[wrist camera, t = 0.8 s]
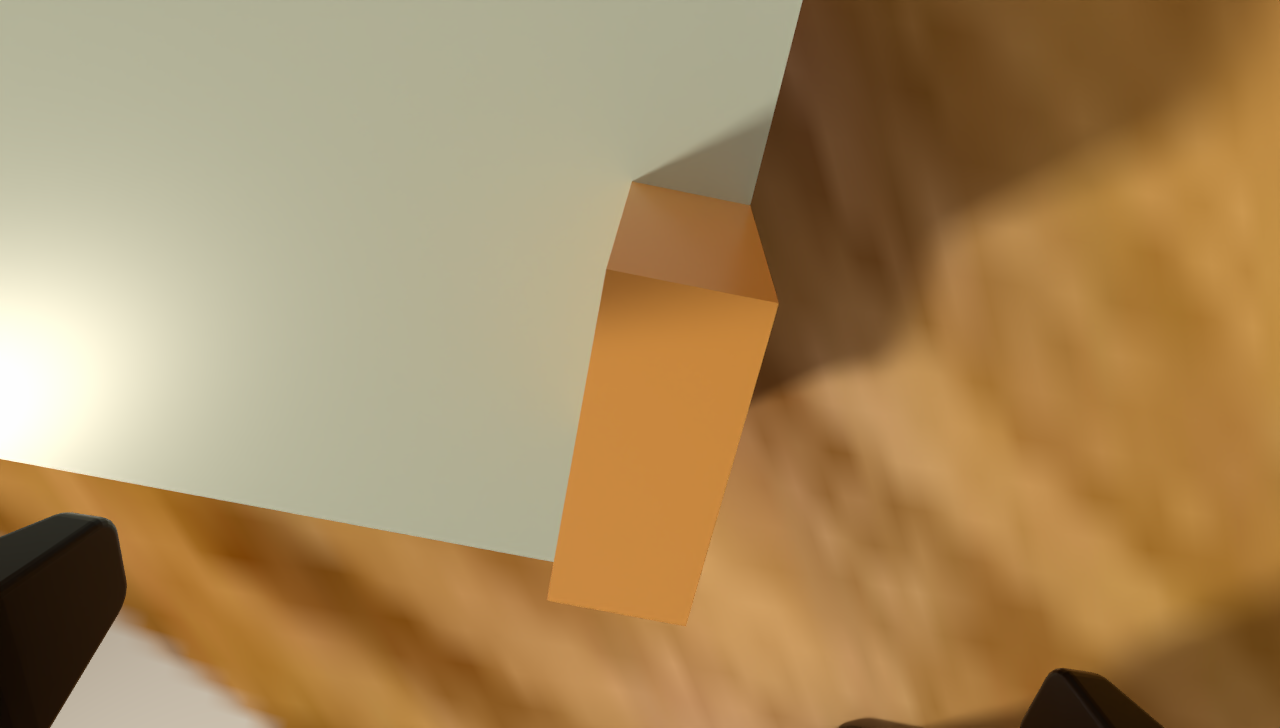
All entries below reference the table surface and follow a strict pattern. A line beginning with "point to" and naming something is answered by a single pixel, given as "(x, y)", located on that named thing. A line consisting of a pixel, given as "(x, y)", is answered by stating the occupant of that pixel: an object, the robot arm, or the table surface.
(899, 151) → the table surface
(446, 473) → the lid
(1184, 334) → the table surface
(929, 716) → the table surface
